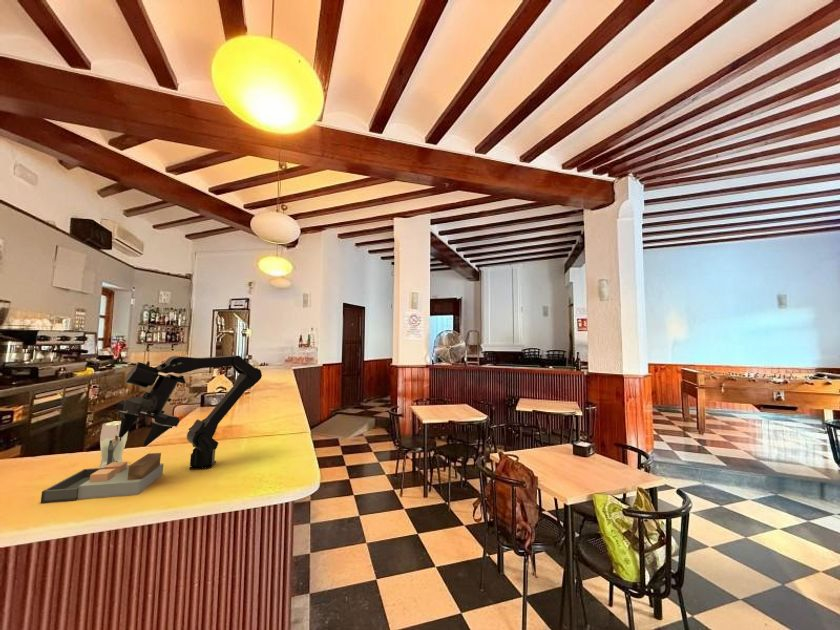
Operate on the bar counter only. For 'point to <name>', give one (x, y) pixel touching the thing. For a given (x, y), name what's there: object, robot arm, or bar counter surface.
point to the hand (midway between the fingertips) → (132, 441)
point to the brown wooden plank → (144, 466)
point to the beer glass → (111, 443)
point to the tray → (67, 487)
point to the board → (118, 485)
